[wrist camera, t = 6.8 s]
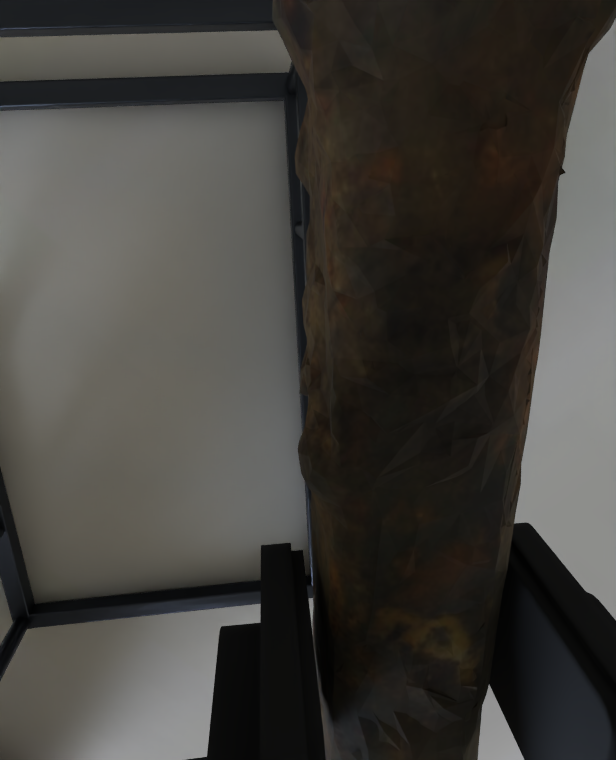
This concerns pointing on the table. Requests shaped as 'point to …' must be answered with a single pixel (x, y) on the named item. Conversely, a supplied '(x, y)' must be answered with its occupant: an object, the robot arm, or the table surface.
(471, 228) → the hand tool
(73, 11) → the drying rack
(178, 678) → the table surface
